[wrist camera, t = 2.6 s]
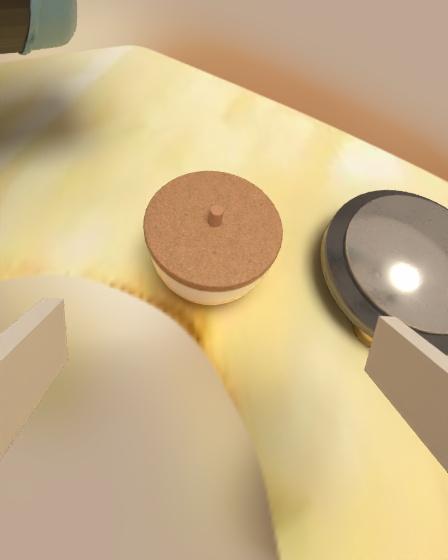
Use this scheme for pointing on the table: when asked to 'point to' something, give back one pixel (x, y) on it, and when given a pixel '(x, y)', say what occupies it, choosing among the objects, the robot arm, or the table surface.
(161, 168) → the table surface
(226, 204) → the lidded jar
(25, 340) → the robot arm
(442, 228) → the base
